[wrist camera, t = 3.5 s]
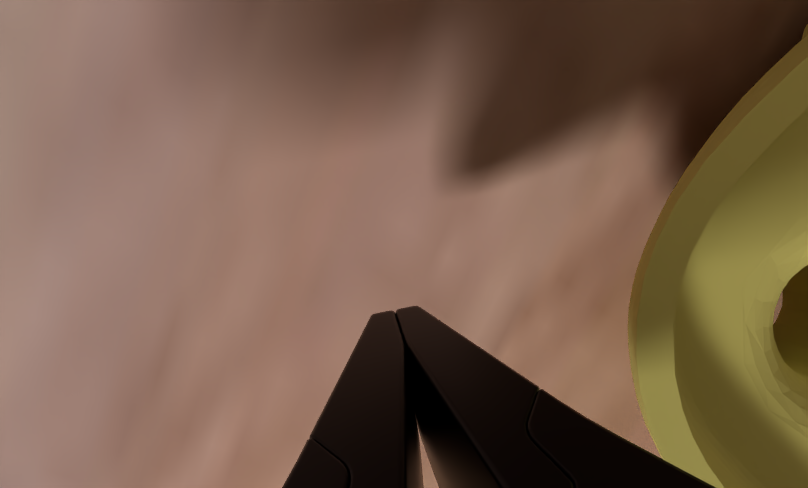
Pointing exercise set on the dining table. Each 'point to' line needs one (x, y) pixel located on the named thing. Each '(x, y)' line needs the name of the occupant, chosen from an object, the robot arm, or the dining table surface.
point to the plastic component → (732, 297)
